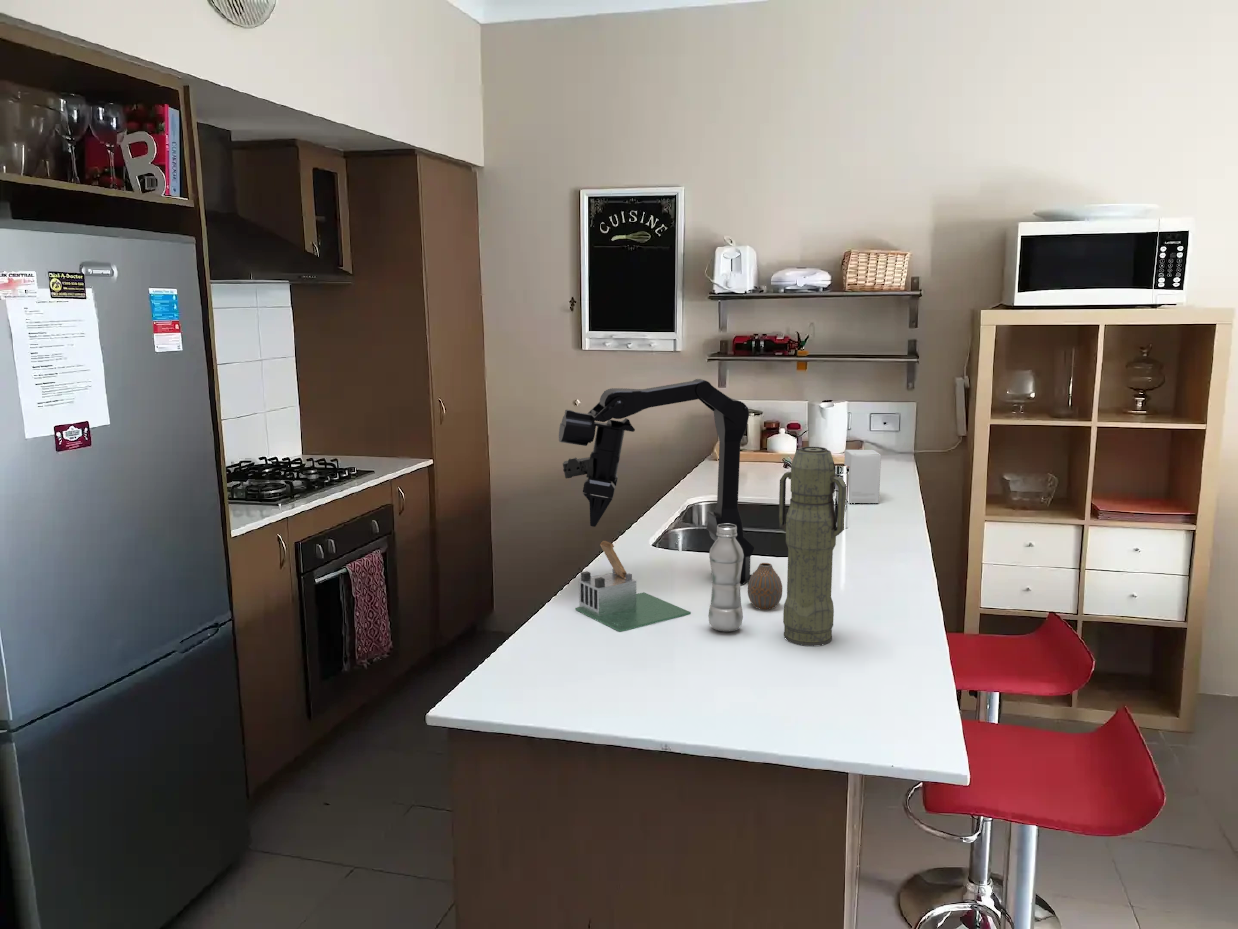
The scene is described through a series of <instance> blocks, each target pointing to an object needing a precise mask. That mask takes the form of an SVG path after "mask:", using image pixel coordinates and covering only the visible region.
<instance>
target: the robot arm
mask: <svg viewBox="0 0 1238 929" xmlns="http://www.w3.org/2000/svg"><path fill="white" fill-rule="evenodd" d="M696 400H699V401H700V402H701V403H702V404H703V405H704V406H706V407H707V408H708V409H709V410H711V412H713V418H714V426H715V429H716V433H717V436H718V441H719V444H718V446H719V448H718V470H717V492H716V493H717V494H716V496H717V497H716V498H717V499H716V500H717V501H716V506H715V508H714V510H713V511H707V513H706V514H707V515H706V516H707V526H706V528H705V529H706V530H707V531H708V532H709V533H708V534H709V537H710V538H711V539H712V540H713V541H714V542H715V541H716V540H717V539H718V536H717V535H716V533H717V525H719V524H734V525H736V526H737V536H736V537H735V538H736V540H737V541H738V543H739V544H740V546H741V548H742V550H743V554H744V556H743V564H742V570H741V581H740V585H745V584H746V583H747V582H749V580H750V577H751V576H752V574H751V557H752V554H753V553H754V549H755V547H754V546H753V545H752V544H751V542H749V541H748V540H747V539H746V538H745V535H744V534H745V533H744V527H743V520H742V516H741V514H740V513H741V512H740V511H739V510H740V509H739V507H738V506H739V484H740V464H741V463H740V461H741V460H740V459H741V443H742V440H743V439H744V438H743V437H744V435H745V433H746V431H747V428H748V423H749V416H750V410H749V408H748V406H747V405H746V404H745V403H744V402H742V401H740V400H738V399H735V398H732V397H729V396H727V395H726V394H724V393H723V392H722V391H721V390H719V389H718V388H716V387H714V386H713V385H712V384H711V382H710V381H707V380H705V379H701V378H695V379H693V380H689V381H685V382H684V381H683V382H678V383H672V384H666V385H661V386H653V387H649V388H648V387H647V388H623V387H622V388H620V387H618V388H613V387H611V388H608V389H605V390H604V391H603V392H602V394H601V395H600V398H599V402H598V403H596V404H595V406H593V408H591V409H590V410H589V411H588V412H587V413H585V412H578V411H574V410H571V409H565V410H564V415H563V416H562V419H561V423H560V424H559V428H558V442H559V443H561V444H568V445H569V444H570V445H576V446H577V445H578V446H582V447H583V446H584V447H587V446H589V444H592V443H593V441H594V445H593V449H592V451H591V453H590V456H589V457H582V458H581V457H580V458H577V457H573V458H568V460H564V461H563V463H562V467H563V472H564V473H563V474H564V478H565V479H571V478H574V477H579V476H585V477H586V478H587V479H586V480H585V481H584V482H583V488H582V489H583V490H582V494H583V496H584V497H585V498H586V500H588V502H589V503H588V504H589V524H590V525H589V526H590V527H593V528H595V527H597V525H598V523H599V522H600V520H601V518H602V517H603V515H604V513H605V512H606V510H607V509H608V508H609V506H610V503H611V502H612V501H613V498H614V496H615V490H616V486H617V484H618V478H619V475H618V469H619V464H620V460H621V452H622V447H623V441H624V436H625V431H627V432H635V430H636V429H635V427H633V425H632V423H631V421H630V419H629V418H627V417H630V416H632V415H635V414H638V413H640V412H642V411H644V410H647V409H649V408H654V407H655V408H656V407H661V406H668V405H672V404H678V403H679V404H680V403H685V402H690V401H696ZM621 419H623V420H621Z"/></svg>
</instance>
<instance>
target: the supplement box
mask: <svg viewBox="0 0 1238 929" xmlns="http://www.w3.org/2000/svg"><path fill="white" fill-rule="evenodd" d="M843 463H844V465H847V466H850V468H849V503H848V504H849V505H856V504H855V503H879V504H880V486H881V485H880V484H881V468H882V467H881V465H882V454H880V453H879V452H878V451H877V450H875V449H845V450H844V462H843ZM850 503H851V504H850ZM852 503H854V504H852Z"/></svg>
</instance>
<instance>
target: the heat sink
mask: <svg viewBox="0 0 1238 929" xmlns="http://www.w3.org/2000/svg"><path fill="white" fill-rule="evenodd" d="M578 590H579V592H578V595H579V596H578V599H579V602H578V603H579V606H578V607H575V611H577V612H579V613H581V614H583V615H584V616H587V617H589V618H591V619H593V620H595V619H596V620H595V621H597V620H598V621H597V622H599V623H601V624H603V625H605V626H606V627H609V626H610V627H609V628H611V629H612V630H615V631H616V632H619V633H622V632H625V631H629V630H634V629H637V628H640V627H641V628H642V627H645V626H649V625H652V624H656V623H661V622H665V621H668V620H672V619H676V618H681V617H684V616H689V615H691V613H692V612H691V611H689V610H686V609H685V608H681V607H679V606H678V605H675V604H673V603H670V602H668V601H665V600H663V599H661V598H659V597H656V596H654V595H651V594H649V593H647V592H644V591H643V592H639V593H637V579H634V578H633V573H630V572H629V573H627V574H626V579H625V578H623V577H620V576H618V575H616V573H615V571H614V569H613V568H612V572H611V573H605V574H601V575H597V576H592V577H591V572H590V571H587V570H586V571H581V572H580V579H578Z"/></svg>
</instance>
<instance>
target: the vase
mask: <svg viewBox="0 0 1238 929" xmlns="http://www.w3.org/2000/svg"><path fill="white" fill-rule="evenodd" d="M751 575H752V576H751V577H750V580H748V583H747V596H748V599H749V602H751V604H752V605H753V607H754V608H756V607H757V608H756V609H759V608H760V610H772V608H773V609H774V608H776V607H777V606H778V604H780V602H781V599H782V596H783V584H782V583H783V582H782V580H781V577H780V576H779V575H778V573H777V572H776V571H775V569H774V567H773V565H772V564H771V563H769V562H761V563H759V565H758V567H757V568H756V569H755V571H754V572H753V573H752V574H751Z"/></svg>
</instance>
